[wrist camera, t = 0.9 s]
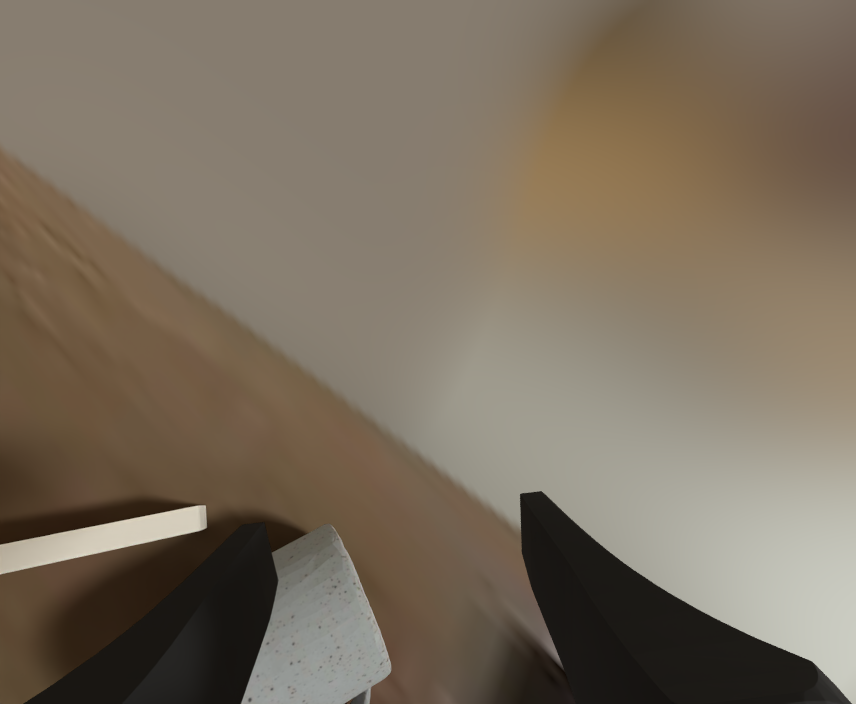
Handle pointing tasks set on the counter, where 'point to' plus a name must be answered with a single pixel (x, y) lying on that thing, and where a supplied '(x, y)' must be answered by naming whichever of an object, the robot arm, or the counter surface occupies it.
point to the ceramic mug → (318, 629)
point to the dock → (100, 538)
